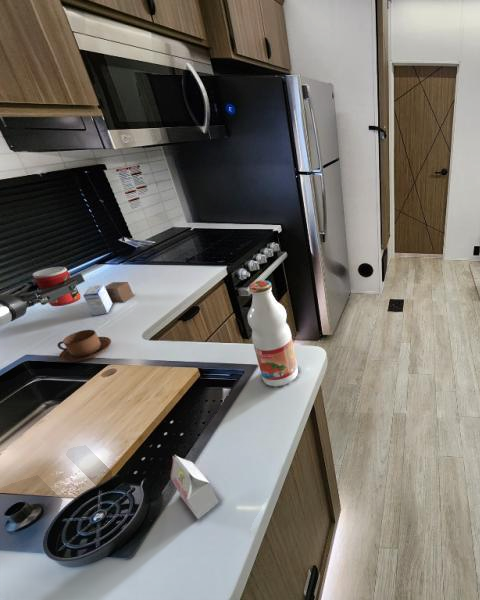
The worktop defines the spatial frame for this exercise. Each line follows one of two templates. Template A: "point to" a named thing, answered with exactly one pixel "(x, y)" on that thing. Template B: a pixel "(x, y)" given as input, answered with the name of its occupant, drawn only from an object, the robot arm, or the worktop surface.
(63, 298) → the canned food
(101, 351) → the cup and saucer
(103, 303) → the medicine box
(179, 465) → the white carton box
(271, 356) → the fruit juice
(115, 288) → the walnut block
